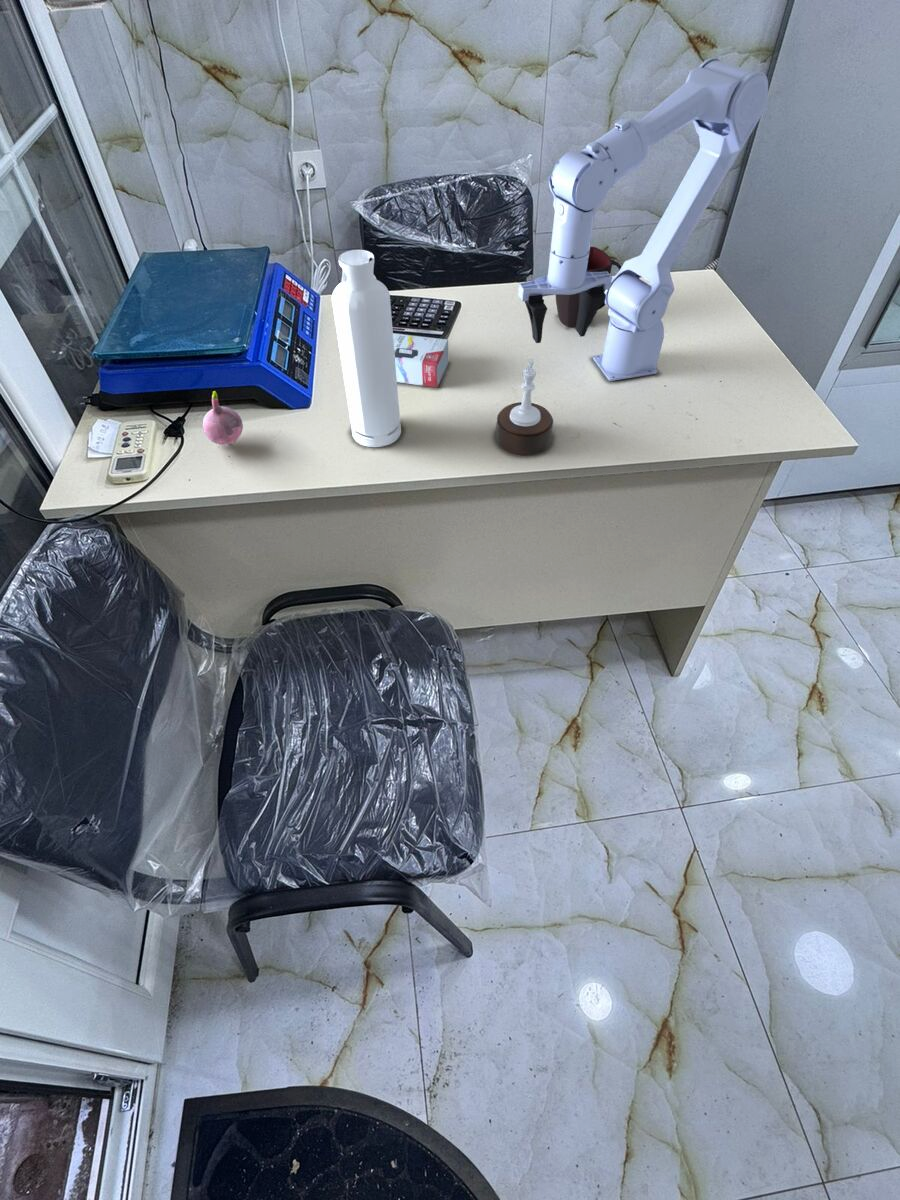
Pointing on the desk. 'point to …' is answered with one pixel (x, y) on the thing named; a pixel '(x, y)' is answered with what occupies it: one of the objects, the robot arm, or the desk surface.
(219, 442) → the vegetable
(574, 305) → the cup
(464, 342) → the desk surface
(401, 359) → the ink box
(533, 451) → the stand
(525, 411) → the chess piece
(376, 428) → the bottle
